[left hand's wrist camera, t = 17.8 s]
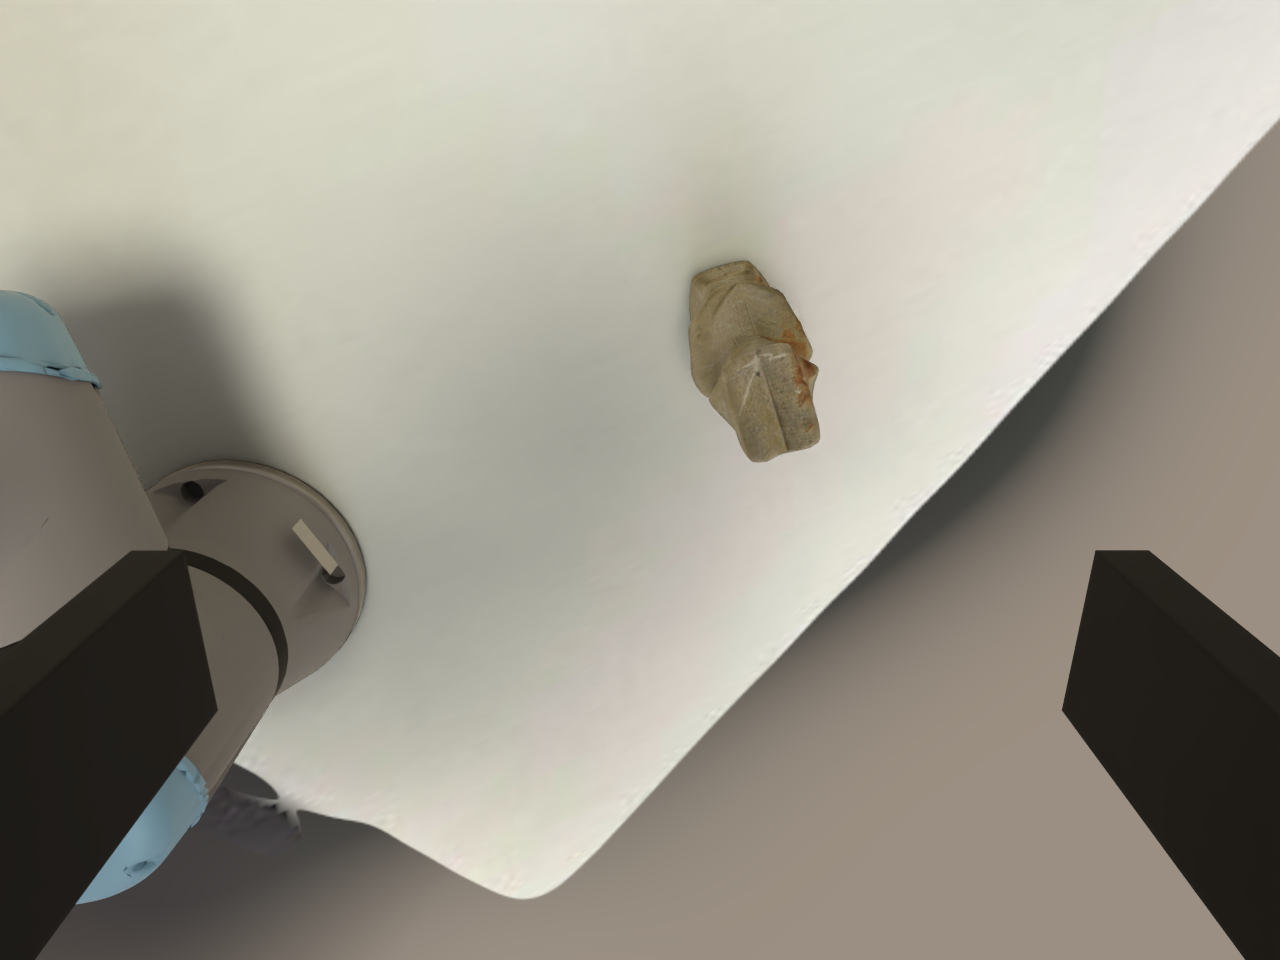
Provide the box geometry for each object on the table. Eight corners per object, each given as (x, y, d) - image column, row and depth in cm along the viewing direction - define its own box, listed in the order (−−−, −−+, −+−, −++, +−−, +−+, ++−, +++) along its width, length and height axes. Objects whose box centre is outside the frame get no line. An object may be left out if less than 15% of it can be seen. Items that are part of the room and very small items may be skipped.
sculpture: (697, 391, 52) (716, 485, 38) (668, 271, 49) (678, 324, 35) (793, 367, 51) (850, 454, 37) (770, 245, 49) (821, 289, 35)
